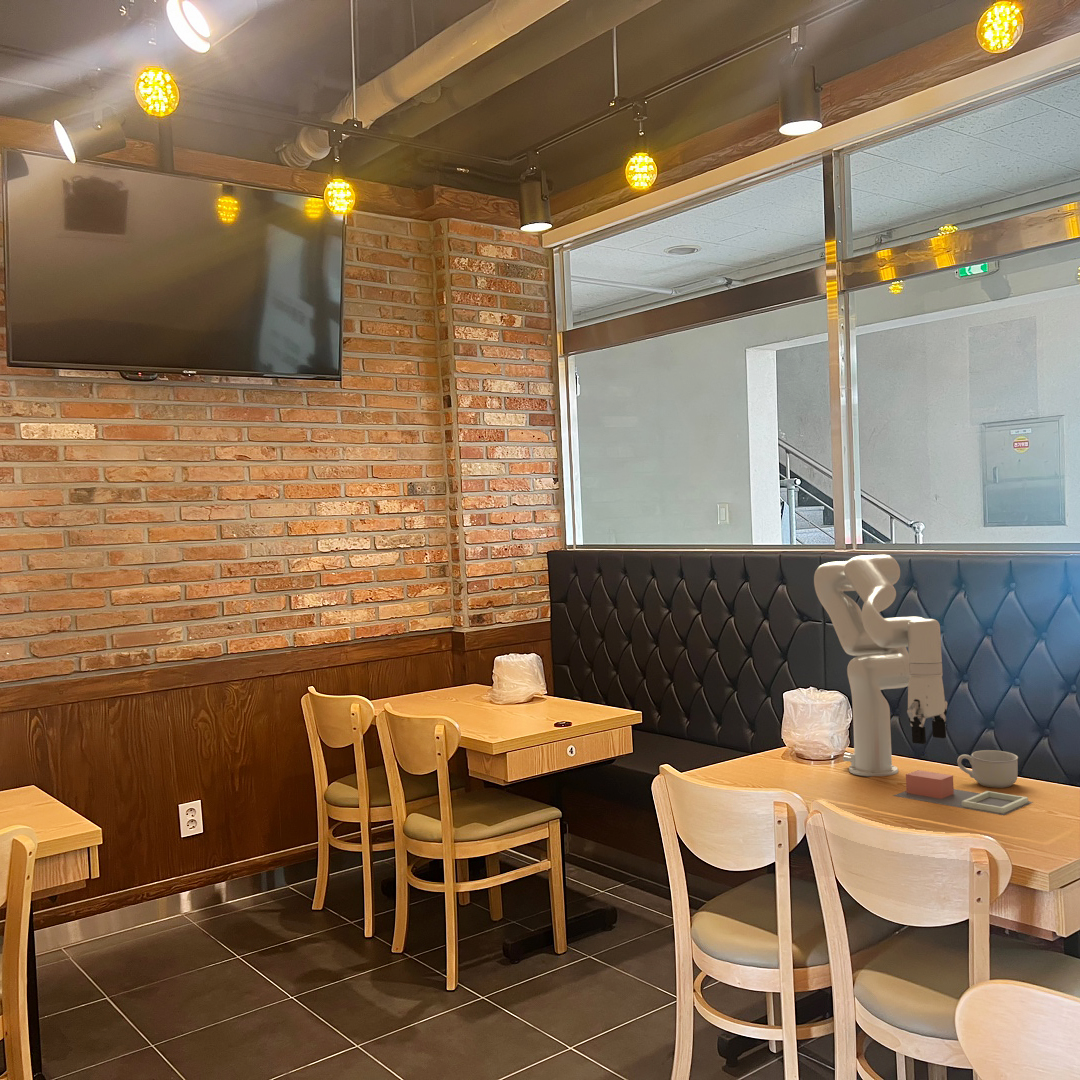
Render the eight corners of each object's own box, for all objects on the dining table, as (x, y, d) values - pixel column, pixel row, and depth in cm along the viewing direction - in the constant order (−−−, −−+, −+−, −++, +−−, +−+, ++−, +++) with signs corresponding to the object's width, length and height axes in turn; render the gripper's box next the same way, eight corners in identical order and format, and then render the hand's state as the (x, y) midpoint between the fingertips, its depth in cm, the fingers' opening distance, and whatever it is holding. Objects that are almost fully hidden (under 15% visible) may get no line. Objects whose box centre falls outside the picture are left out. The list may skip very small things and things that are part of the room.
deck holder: (962, 806, 237) (961, 801, 237) (987, 795, 246) (987, 790, 246) (1003, 813, 230) (1003, 808, 230) (1028, 802, 238) (1027, 797, 238)
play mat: (893, 797, 249) (893, 795, 249) (924, 786, 259) (924, 784, 259) (1004, 817, 229) (1004, 815, 229) (1033, 804, 239) (1033, 802, 239)
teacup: (1022, 783, 258) (1021, 752, 258) (1015, 793, 249) (1014, 760, 249) (963, 778, 266) (962, 747, 266) (954, 787, 257) (953, 755, 257)
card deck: (906, 792, 251) (905, 774, 251) (918, 788, 255) (918, 770, 255) (941, 798, 245) (940, 779, 245) (953, 794, 249) (953, 775, 249)
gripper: (929, 665, 258) (932, 734, 258) (892, 672, 247) (896, 744, 246) (957, 667, 253) (961, 736, 252) (922, 674, 241) (926, 747, 241)
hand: (929, 740), depth 249 cm, fingers open, 9 cm apart
